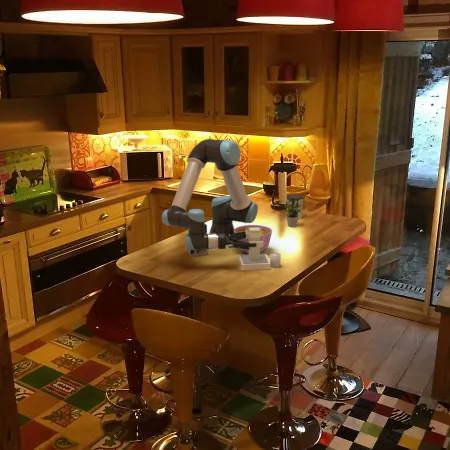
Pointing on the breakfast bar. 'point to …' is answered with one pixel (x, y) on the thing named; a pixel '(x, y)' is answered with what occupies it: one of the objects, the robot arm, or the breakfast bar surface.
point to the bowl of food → (264, 235)
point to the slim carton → (254, 237)
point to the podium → (254, 263)
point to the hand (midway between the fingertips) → (261, 239)
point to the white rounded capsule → (275, 260)
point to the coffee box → (198, 252)
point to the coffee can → (300, 200)
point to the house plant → (292, 214)
